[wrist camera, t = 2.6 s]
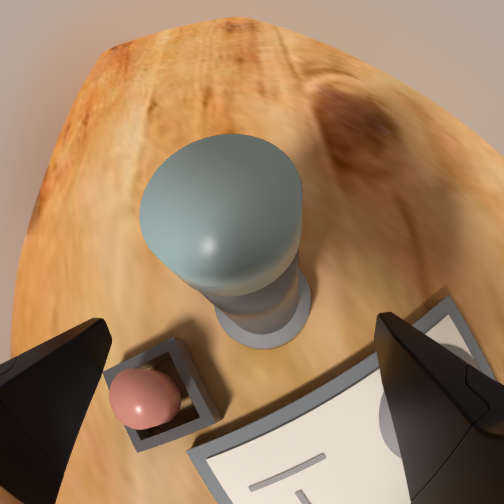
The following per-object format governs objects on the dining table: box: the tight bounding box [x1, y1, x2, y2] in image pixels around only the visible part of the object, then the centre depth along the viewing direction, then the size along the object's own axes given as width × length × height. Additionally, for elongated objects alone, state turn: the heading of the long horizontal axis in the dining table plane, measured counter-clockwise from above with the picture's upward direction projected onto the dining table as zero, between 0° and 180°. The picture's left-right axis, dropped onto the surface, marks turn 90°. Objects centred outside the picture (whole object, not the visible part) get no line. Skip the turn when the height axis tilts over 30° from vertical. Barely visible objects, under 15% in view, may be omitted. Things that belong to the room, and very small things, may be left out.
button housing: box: [103, 337, 223, 453], centre depth 18 cm, size 6×6×2 cm
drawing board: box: [186, 295, 496, 504], centre depth 14 cm, size 20×13×1 cm, turn 118°
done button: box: [109, 368, 181, 430], centre depth 16 cm, size 4×4×3 cm
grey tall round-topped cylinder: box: [140, 134, 311, 350], centre depth 14 cm, size 6×6×13 cm
